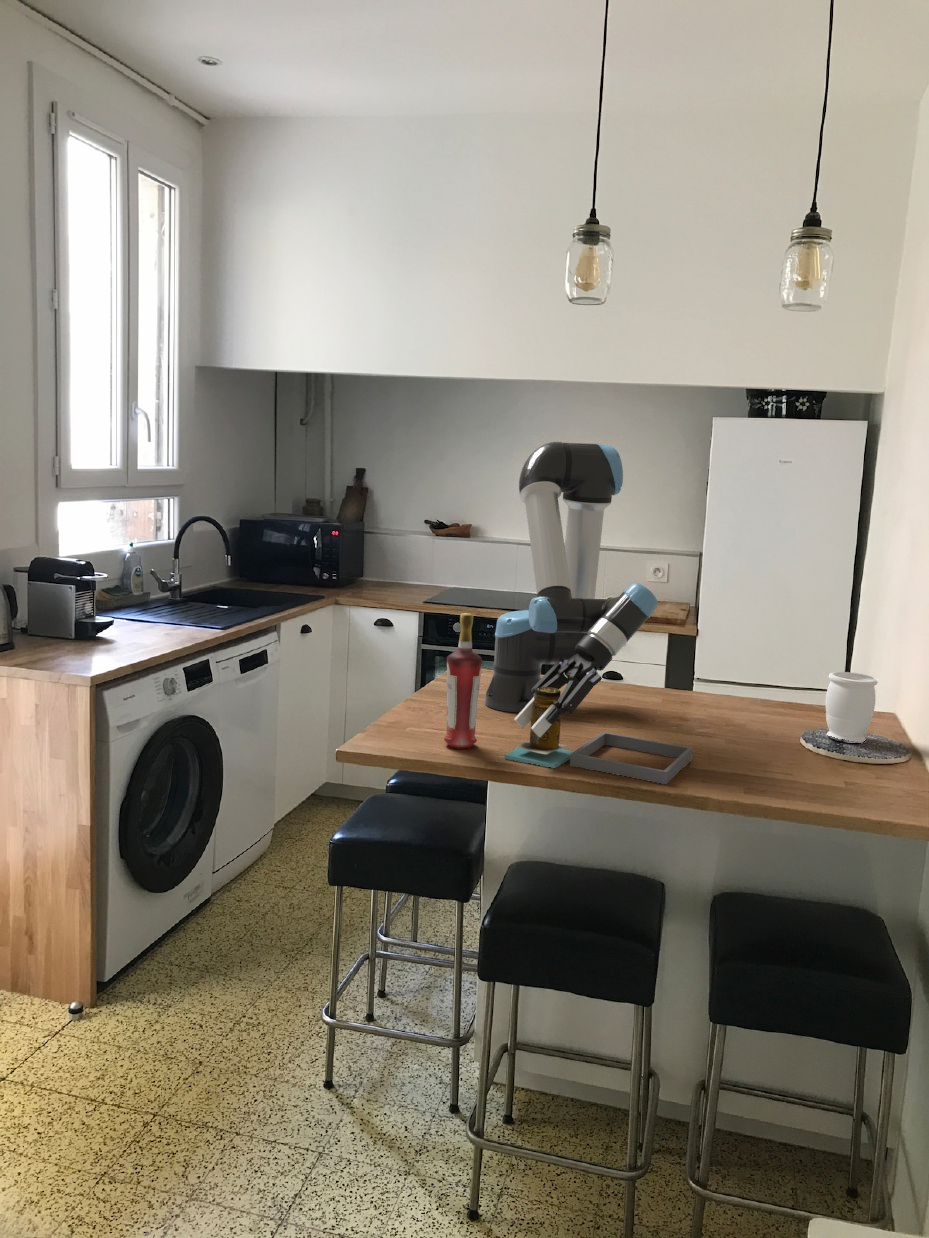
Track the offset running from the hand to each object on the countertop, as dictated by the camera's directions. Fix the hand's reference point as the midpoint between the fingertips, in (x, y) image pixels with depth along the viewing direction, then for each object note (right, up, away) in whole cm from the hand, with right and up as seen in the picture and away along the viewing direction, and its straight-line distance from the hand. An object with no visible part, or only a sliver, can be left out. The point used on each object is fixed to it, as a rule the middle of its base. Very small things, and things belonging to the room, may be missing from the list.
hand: (527, 728), depth 196 cm
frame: (+22, -7, +2) cm, 23 cm away
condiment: (+3, -4, +2) cm, 6 cm away
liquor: (-14, -5, +8) cm, 16 cm away
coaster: (+3, -6, +3) cm, 7 cm away
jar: (+76, -6, +28) cm, 81 cm away
